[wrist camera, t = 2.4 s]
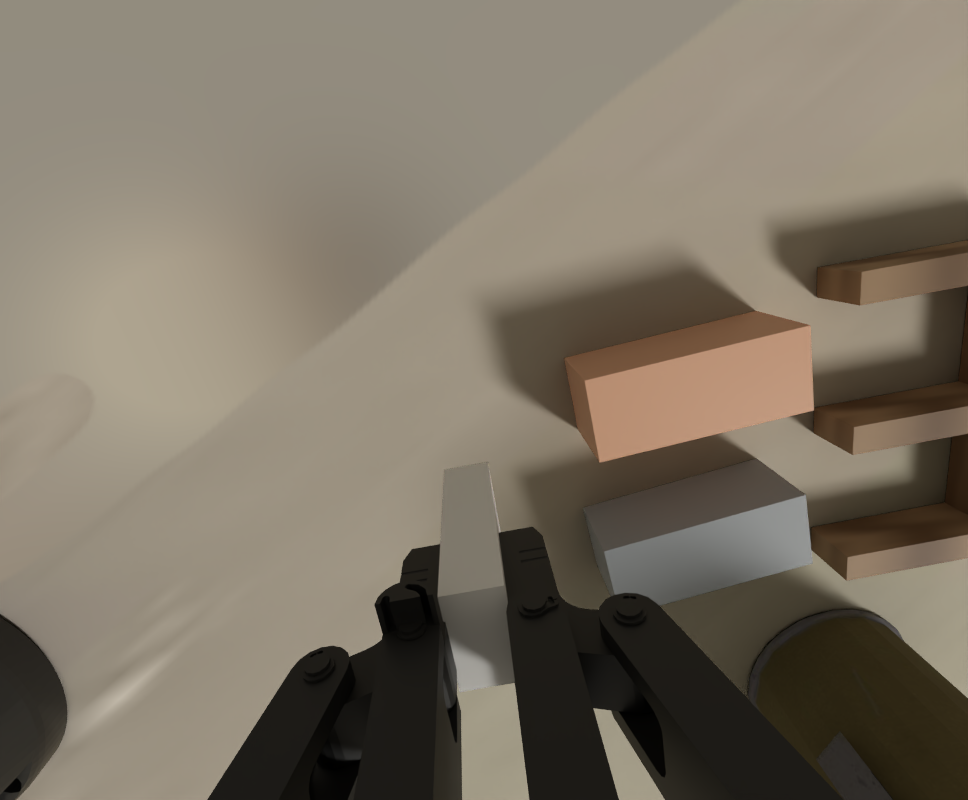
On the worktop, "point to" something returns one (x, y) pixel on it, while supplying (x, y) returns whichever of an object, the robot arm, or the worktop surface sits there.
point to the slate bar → (700, 533)
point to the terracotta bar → (691, 383)
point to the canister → (864, 709)
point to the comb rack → (899, 425)
